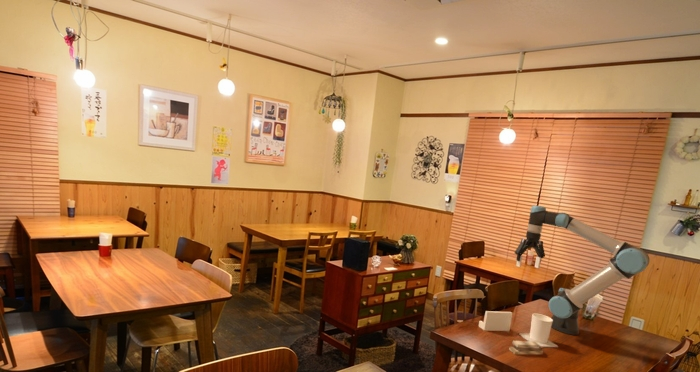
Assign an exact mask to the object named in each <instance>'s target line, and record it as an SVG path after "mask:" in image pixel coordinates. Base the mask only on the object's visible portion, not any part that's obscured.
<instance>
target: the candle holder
mask: <svg viewBox="0 0 700 372" xmlns="http://www.w3.org/2000/svg"><path fill="white" fill-rule="evenodd" d="M551 318H552V317H550V316H547V315H545V314H541V313H537V312H534V313H531V320H530V321H531V322H530V331H529V333H530V338H531V339H532V340H534V341H536V342H539V343H547V341H548V340H549V338H550V333H551V330H552V327H551V326H552V323H553V320H552V319H551Z"/></svg>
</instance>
